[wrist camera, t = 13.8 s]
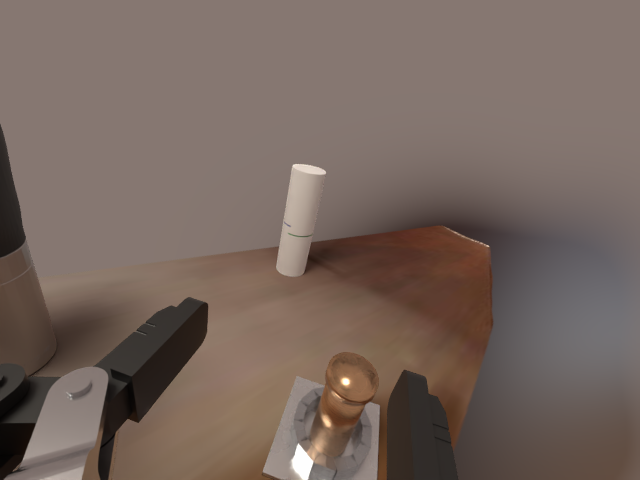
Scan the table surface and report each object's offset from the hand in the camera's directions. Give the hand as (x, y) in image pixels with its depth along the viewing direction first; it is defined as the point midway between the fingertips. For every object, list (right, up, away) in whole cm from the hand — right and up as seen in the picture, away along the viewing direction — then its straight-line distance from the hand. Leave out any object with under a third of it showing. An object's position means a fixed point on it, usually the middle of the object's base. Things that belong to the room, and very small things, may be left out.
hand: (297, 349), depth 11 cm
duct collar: (+2, -21, +26) cm, 34 cm away
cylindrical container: (-6, -3, +59) cm, 59 cm away
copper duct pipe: (+2, -21, +26) cm, 33 cm away
